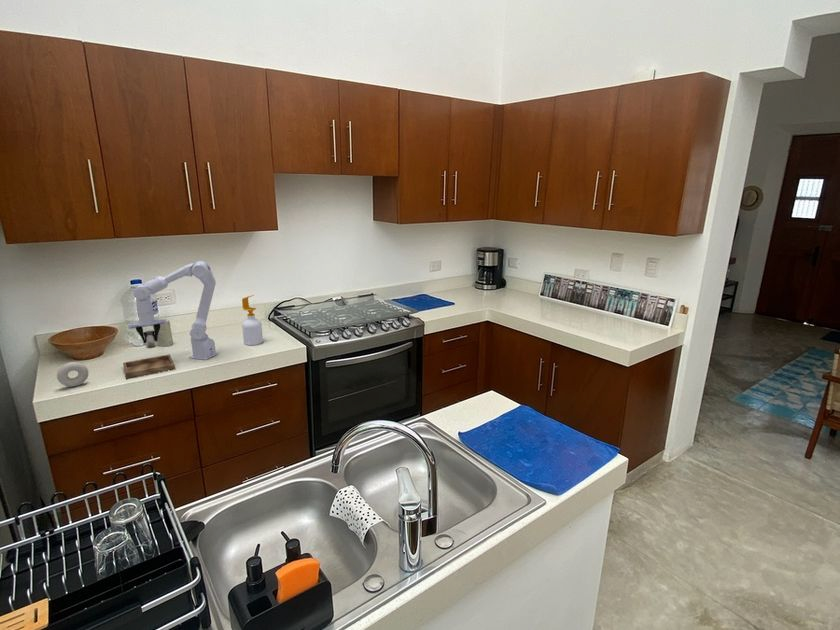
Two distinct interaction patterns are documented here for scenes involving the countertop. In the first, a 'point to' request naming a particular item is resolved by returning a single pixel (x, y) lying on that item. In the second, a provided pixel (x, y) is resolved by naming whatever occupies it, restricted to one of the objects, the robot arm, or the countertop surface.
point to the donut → (72, 366)
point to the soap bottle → (251, 326)
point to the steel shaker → (150, 339)
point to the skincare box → (165, 335)
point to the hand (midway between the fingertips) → (150, 341)
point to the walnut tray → (148, 366)
